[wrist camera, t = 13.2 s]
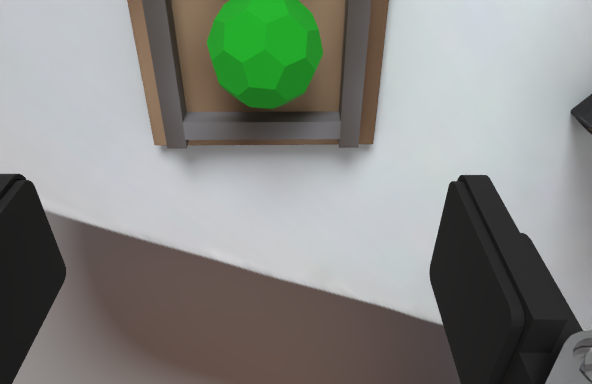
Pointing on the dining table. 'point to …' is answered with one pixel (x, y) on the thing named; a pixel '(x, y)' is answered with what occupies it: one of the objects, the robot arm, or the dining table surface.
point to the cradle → (238, 116)
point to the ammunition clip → (584, 113)
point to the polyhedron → (265, 50)
